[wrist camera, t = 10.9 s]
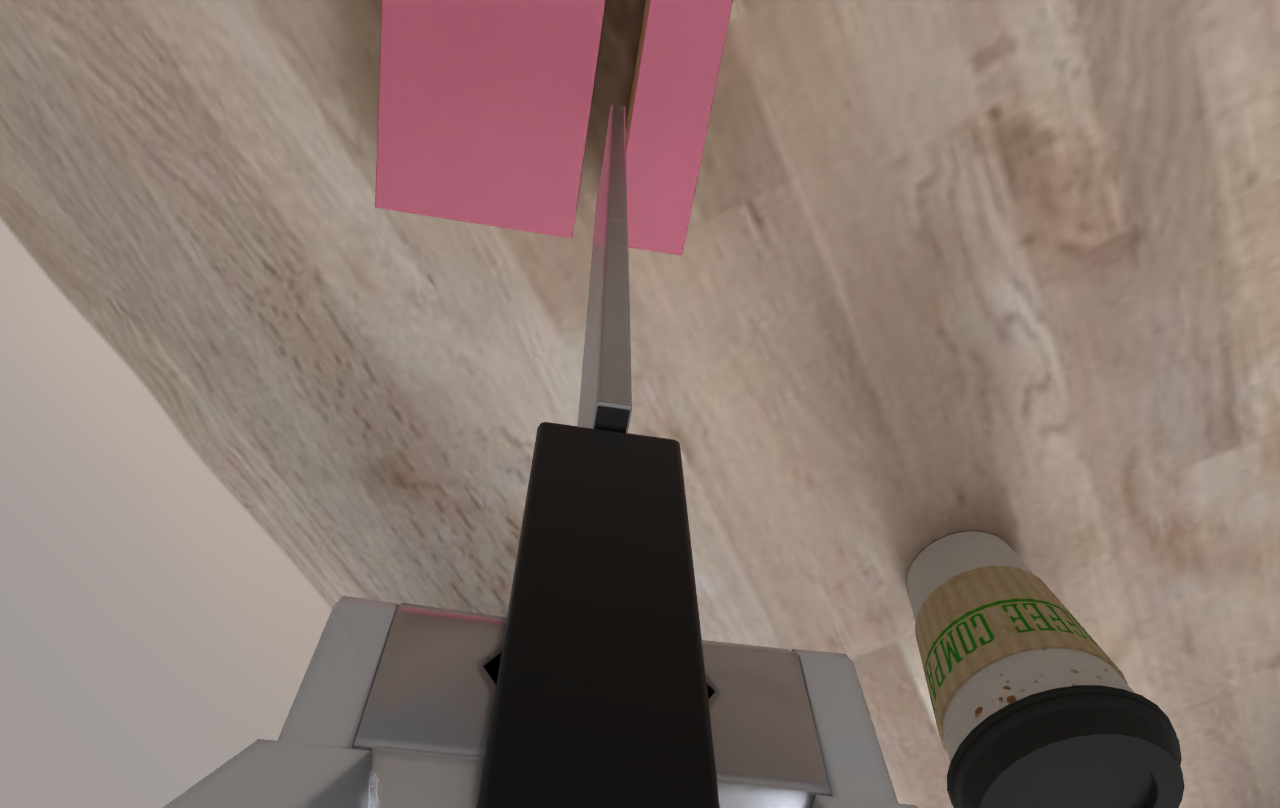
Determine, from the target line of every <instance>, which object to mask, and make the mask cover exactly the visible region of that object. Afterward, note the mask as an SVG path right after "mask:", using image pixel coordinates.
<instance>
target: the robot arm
mask: <svg viewBox="0 0 1280 808" xmlns="http://www.w3.org/2000/svg"><path fill="white" fill-rule="evenodd" d="M506 622H507V618H506V617H499V616H492V615H485V614H478V613H471V612H464V611H456V610H449V609H442V608H435V607H428V606H421V605H413V604H406V603H401V604H397V603H391V602H384V601H377V600H370V599H362V598H355V597H348V596H342V598H341V599H340V600H339V601H338V602H337V603H336V604H335V606H334V607H333V609H332V611H331V614H330V616H329V618H328V621H327V623H326V625H325V628H324V630H323V633H322V635H321V638H320V640H319V642H318V645H317V647H316V649H315V652H314V654H313V657H312V659H311V661H310V664H309V666H308V669H307V671H306V673H305V676H304V678H303V681H302V683H301V685H300V688H299V690H298V693H297V695H296V697H295V700H294V702H293V705H292V707H291V709H290V712H289V714H288V717H287V719H286V721H285V724H284V726H283V729H282V731H281V734H280V736H279V738H278V741H274V740H262V739H258V740H257V741H255V742H254V743H253V744H251V745H250V746H248V747H247V748H246V749H244V750H243V751H241V752H240V753H239V754H237V755H236V756H234V757H233V758H232V759H230V760H229V761H227V762H226V763H224V764H223V765H222V766H220V767H219V768H217V769H216V770H215V771H213V772H212V773H210V774H209V775H208V776H206V777H205V778H203V779H202V780H201V781H199V782H198V783H197V784H195V785H194V786H192V787H191V788H189V789H188V790H187V791H185V792H184V793H183V794H181V795H180V796H178V797H177V798H176V799H174V800H173V801H171V802H170V803H169V804H167V805H166V806H164V807H163V808H477V802H478V796H479V790H480V784H481V777H482V771H483V765H484V759H485V752H486V746H487V740H488V734H489V728H490V721H491V715H492V709H493V703H494V697H495V690H496V684H497V678H498V672H499V665H500V659H501V653H502V647H503V641H504V634H505V628H506ZM702 648H703V657H704V666H705V675H706V683H707V692H708V701H709V710H710V719H711V728H712V737H713V746H714V755H715V764H716V773H717V782H718V791H719V800H720V808H917V807H916V806H914V805H906V804H898V801H897V798H896V795H895V792H894V788H893V785H892V782H891V779H890V776H889V773H888V770H887V767H886V763H885V760H884V757H883V754H882V751H881V748H880V745H879V742H878V738H877V735H876V732H875V729H874V726H873V723H872V720H871V716H870V713H869V710H868V707H867V704H866V701H865V698H864V695H863V691H862V688H861V685H860V682H859V679H858V676H857V673H856V670H855V666H854V663H853V662H852V661H851V659H850V658H849V657H848V656H847V655H846V654H839V653H828V652H818V651H808V650H798V649H793V650H792V651H790V650H788V649H780V648H771V647H761V646H752V645H743V644H734V643H725V642H715V641H706V640H702Z"/></svg>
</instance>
